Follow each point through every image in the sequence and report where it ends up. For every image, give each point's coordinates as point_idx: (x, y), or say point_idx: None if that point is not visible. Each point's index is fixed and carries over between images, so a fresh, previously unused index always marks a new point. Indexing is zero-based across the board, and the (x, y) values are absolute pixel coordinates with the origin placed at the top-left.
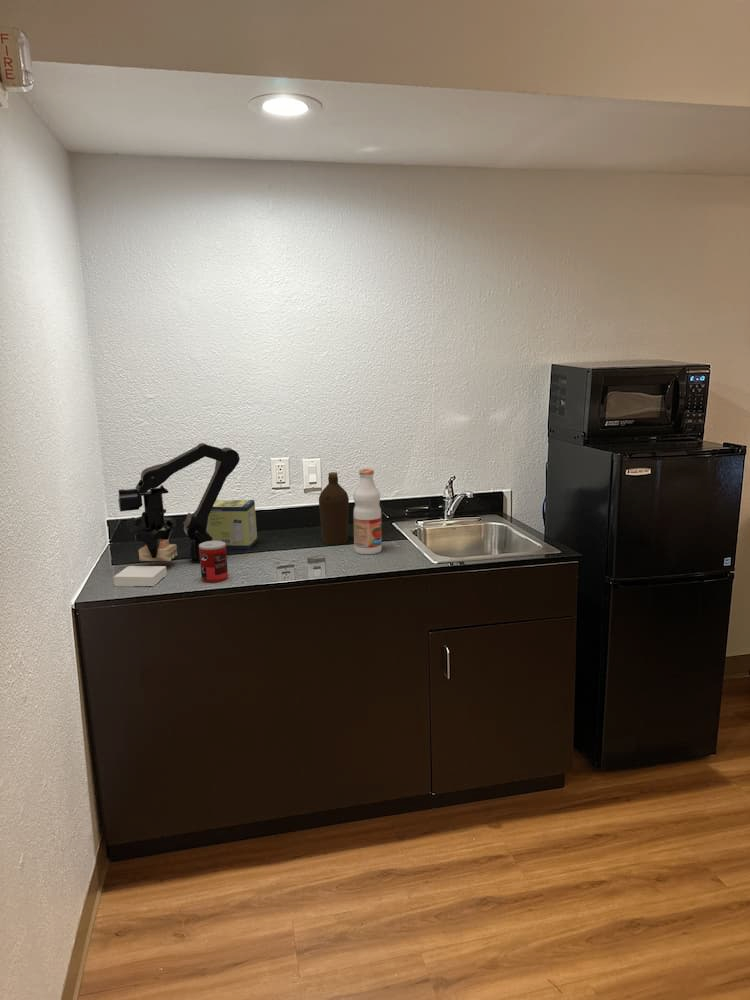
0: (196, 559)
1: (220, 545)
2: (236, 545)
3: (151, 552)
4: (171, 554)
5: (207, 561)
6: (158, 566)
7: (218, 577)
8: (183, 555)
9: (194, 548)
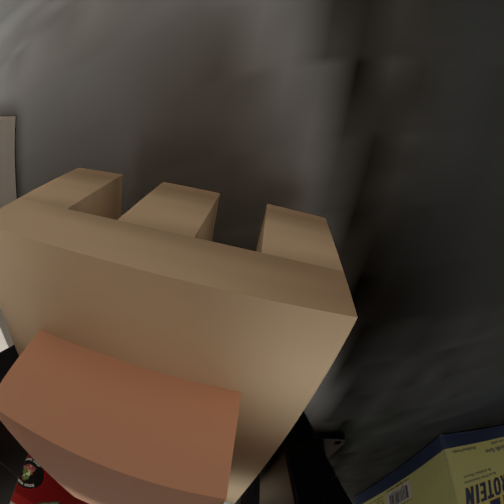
0: None
1: None
2: (375, 495)
3: (16, 358)
4: None
5: None
6: (1, 335)
7: None
8: (407, 384)
9: (250, 498)
